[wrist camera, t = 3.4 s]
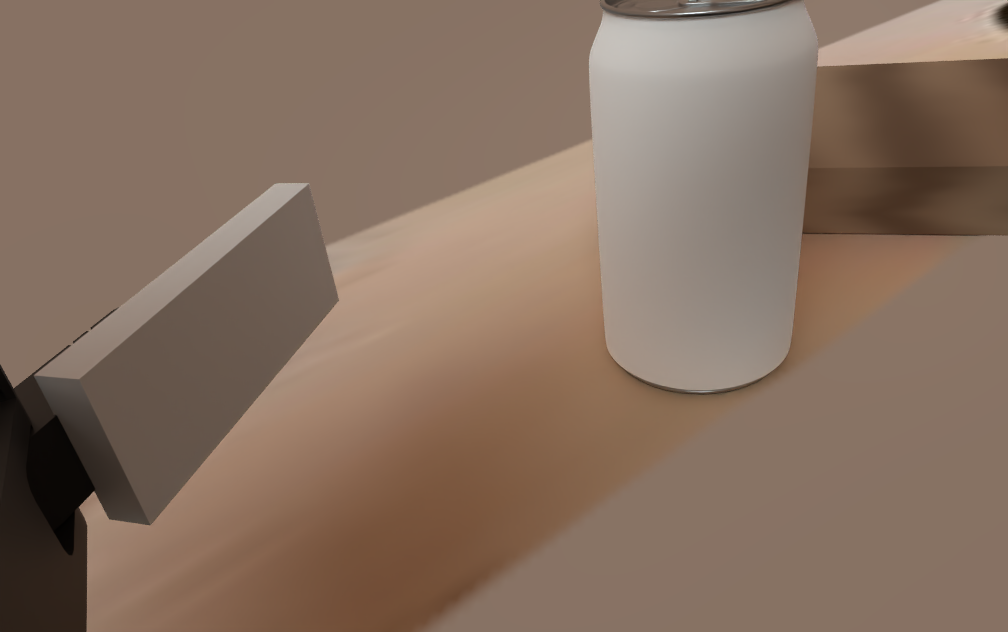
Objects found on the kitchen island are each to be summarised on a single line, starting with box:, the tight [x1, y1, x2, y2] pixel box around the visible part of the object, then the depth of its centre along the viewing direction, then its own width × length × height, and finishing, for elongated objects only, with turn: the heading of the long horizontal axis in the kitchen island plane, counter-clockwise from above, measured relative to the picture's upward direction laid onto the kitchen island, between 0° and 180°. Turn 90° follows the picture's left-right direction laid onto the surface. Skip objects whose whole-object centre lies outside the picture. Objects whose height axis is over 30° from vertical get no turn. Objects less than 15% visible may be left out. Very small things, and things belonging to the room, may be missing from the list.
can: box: [589, 0, 818, 394], centre depth 25 cm, size 6×6×12 cm
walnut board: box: [802, 58, 1008, 235], centre depth 38 cm, size 15×15×3 cm
